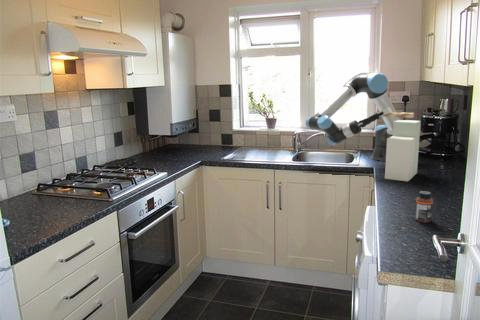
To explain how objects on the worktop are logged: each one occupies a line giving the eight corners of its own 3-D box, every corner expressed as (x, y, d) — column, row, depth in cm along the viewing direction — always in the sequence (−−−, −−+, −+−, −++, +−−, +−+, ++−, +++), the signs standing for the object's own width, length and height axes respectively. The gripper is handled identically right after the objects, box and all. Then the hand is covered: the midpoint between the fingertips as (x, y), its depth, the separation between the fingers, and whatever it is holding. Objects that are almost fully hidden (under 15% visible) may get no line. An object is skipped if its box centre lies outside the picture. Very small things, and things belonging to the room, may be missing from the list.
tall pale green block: (384, 178, 223) (387, 123, 217) (395, 170, 241) (398, 119, 235) (407, 181, 217) (411, 124, 211) (416, 173, 234) (420, 120, 228)
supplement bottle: (418, 216, 162) (420, 189, 160) (434, 220, 158) (436, 192, 156) (411, 220, 158) (414, 192, 156) (427, 224, 154) (429, 195, 152)
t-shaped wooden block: (374, 116, 223) (374, 112, 223) (377, 115, 228) (377, 111, 227) (411, 117, 212) (411, 113, 212) (413, 117, 217) (414, 112, 217)
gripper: (359, 133, 240) (396, 114, 227) (350, 136, 228) (389, 116, 214) (353, 121, 241) (390, 102, 227) (344, 124, 228) (382, 104, 215)
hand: (389, 109), depth 221 cm, fingers closed on t-shaped wooden block, 2 cm apart
